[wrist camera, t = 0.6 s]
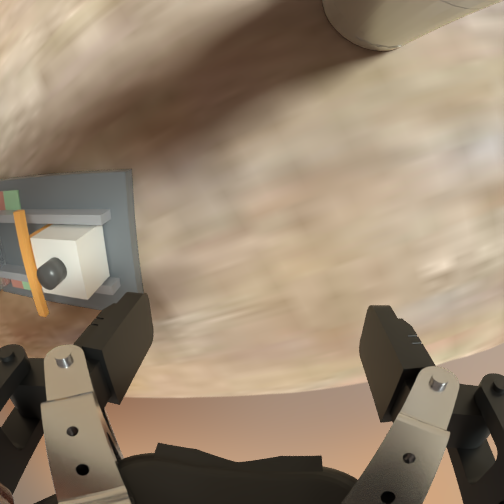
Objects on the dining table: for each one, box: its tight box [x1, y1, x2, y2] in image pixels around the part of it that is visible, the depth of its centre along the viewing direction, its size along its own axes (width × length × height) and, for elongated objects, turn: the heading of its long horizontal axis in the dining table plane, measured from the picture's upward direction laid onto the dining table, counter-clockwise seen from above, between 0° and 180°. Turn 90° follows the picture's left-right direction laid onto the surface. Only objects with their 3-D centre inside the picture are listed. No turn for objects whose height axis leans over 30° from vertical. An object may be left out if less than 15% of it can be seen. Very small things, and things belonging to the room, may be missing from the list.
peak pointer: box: [13, 210, 52, 317], centre depth 28 cm, size 12×1×5 cm, turn 178°
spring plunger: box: [30, 224, 110, 300], centre depth 27 cm, size 6×6×7 cm
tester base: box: [0, 169, 144, 310], centre depth 30 cm, size 16×24×4 cm, turn 88°
